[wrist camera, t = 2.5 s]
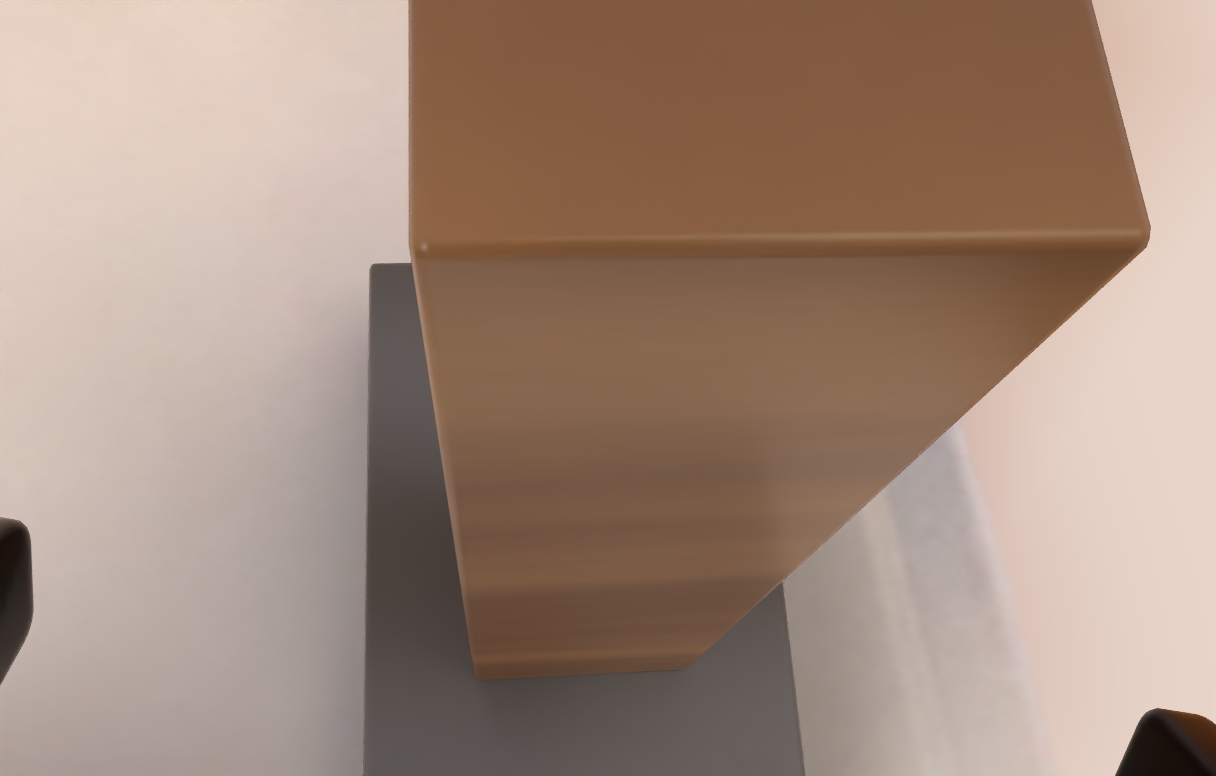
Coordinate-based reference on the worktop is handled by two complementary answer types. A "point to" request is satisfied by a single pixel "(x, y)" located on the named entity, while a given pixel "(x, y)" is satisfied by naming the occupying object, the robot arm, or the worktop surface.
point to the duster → (693, 344)
